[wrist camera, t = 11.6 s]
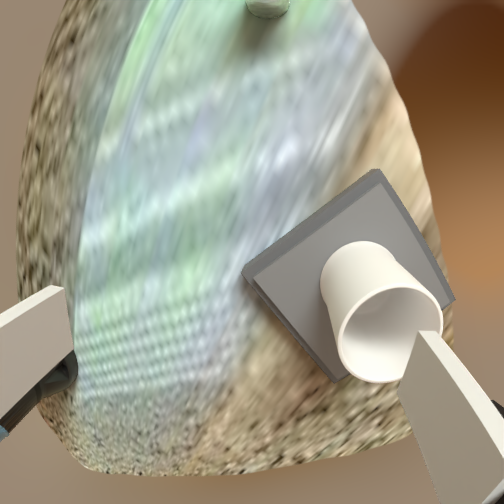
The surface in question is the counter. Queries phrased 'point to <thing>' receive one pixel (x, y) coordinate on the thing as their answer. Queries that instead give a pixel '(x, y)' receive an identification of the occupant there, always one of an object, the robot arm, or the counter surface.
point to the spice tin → (268, 8)
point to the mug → (375, 310)
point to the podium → (320, 250)
